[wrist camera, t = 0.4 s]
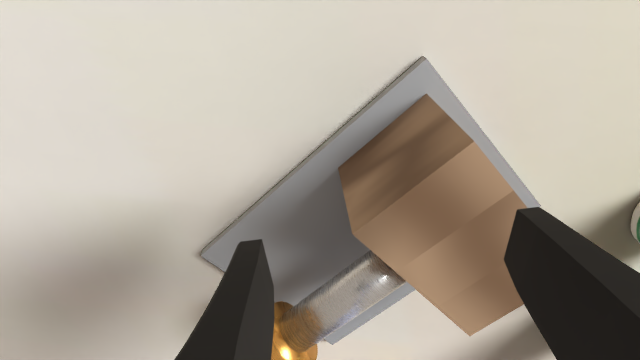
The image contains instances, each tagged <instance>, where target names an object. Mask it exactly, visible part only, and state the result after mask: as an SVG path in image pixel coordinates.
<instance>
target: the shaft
mask: <svg viewBox="0 0 640 360" xmlns="http://www.w3.org/2000/svg"><path fill="white" fill-rule="evenodd" d="M405 283H407V281H406V280H404V279H403V278H402V277H401V276H400V275H399V274H398V273H396V272H395V271H394V270H393V269H392V268H391V267H389V266H388V265H387V264H386V263H385V262H384V261H383V260H381V259H380V258H379V257H378V256H377V255H376V254H375V253H373V252H372V251H371V250H370V251H368V252H367V253H366V254H364V255H363V256H361V257H360V258H359V259H357V260H356V261H355V262H353V263H352V264H351V265H349V266H348V267H346V268H345V269H344V270H342V271H341V272H340V273H338V274H337V275H336V276H334V277H333V278H332V279H330V280H329V281H327V282H326V283H325V284H323V285H322V286H321V287H319V288H318V289H317V290H315V291H314V292H312V293H311V294H310V295H308V296H307V297H306V298H304V299H303V300H302V301H300V302H299V303H297V304H296V305H295V306H293V305H291V304H289V303H287V302H283V301H279V302H276V303H274V332H273V344H272V355H271V360H316V358H317V352H318V351H317V343H318V342H320V341H321V340H323V339H324V338H326V337H327V336H329V335H330V334H332V333H333V332H334V331H336V330H337V329H339V328H340V327H342V326H343V325H345V324H346V323H348V322H349V321H351V320H352V319H354V318H355V317H357V316H358V315H360V314H361V313H362V312H364V311H365V310H367V309H368V308H370V307H371V306H373V305H374V304H376V303H377V302H379V301H380V300H382V299H383V298H385V297H386V296H388V295H389V294H390V293H392V292H393V291H395V290H396V289H398V288H399V287H401V286H402V285H404V284H405Z"/></svg>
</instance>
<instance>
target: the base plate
mask: <svg viewBox="0 0 640 360" xmlns="http://www.w3.org/2000/svg"><path fill="white" fill-rule="evenodd" d="M426 93H427V94H428V95H429V96H430V97H431V98H432V99H433V100H434V101H435V102H436V103H437V104H438V105H439V106H440V107H441V108H442V109H443V110H444V111H445V112H446V113H447V114H448V115H449V116H450V117H451V118H452V119H453V120H454V121H455V122H456V123H457V124H458V125H459V126H460V127H461V128H462V129H463V130H464V131H465V132H466V133H467V134H468V135H469V136H470V137H471V138H472V140H473V141H474V142H475V143H476V144H477V145H478V147H479V148H480V149H481V150H482V152H483V153H484V154H485V155H486V157H487V158H488V159H489V160H490V162H491V163H492V164H493V165H494V166H495V168H496V169H497V170H498V171H499V173H500V174H501V175H502V176H503V178H504V179H505V180H506V181H507V183H508V184H509V185H510V186H511V188H512V189H513V190H514V191H515V193H516V194H517V195H518V196H519V198H520V199H521V200H522V201H523V203H524V204H525V205H526V206H527V208H533V207H540V206H541V205H540V204H539V203H538V201H537V200H536V199H535V198H534V196H533V195H532V194H531V192H530V191H529V190H528V189H527V187H526V186H525V185H524V183H523V182H522V181H521V180H520V178H519V177H518V176H517V174H516V173H515V172H514V171H513V169H512V168H511V167H510V165H509V164H508V163H507V162H506V160H505V159H504V158H503V156H502V155H501V154H500V153H499V151H498V150H497V149H496V147H495V146H494V145H493V144H492V142H491V141H490V140H489V138H488V137H487V136H486V135H485V133H484V132H483V131H482V129H481V128H480V127H479V125H478V124H477V123H476V122H475V120H474V119H473V118H472V116H471V115H470V114H469V113H468V111H467V110H466V109H465V107H464V106H463V105H462V104H461V102H460V101H459V100H458V98H457V97H456V96H455V95H454V93H453V92H452V91H451V89H450V88H449V87H448V86H447V84H446V83H445V82H444V80H443V79H442V78H441V77H440V75H439V74H438V73H437V71H436V70H435V69H434V68H433V66H432V65H431V64H430V62H429V61H428V60H427V59H426V58H425V57H424V56H422V57H421V58H420V59H419V60H418V61H417V62H416V63H415V64H413V65H412V66H411V67H410V68H409V69H408V70H407V71H405V72H404V73H403V74H402V75H401V76H400V77H399V78H397V79H396V80H395V81H394V82H393V83H392V84H391V85H389V86H388V87H387V88H386V89H385V90H384V91H383V92H382V93H380V94H379V95H378V96H377V97H376V98H375V99H374V100H372V101H371V102H370V103H369V104H368V105H367V106H366V107H364V108H363V109H362V110H361V111H360V112H359V113H358V114H356V115H355V116H354V117H353V118H352V119H351V120H350V121H348V122H347V123H346V124H345V125H344V126H343V127H342V128H341V129H339V130H338V131H337V132H336V133H335V134H334V135H333V136H331V137H330V138H329V139H328V140H327V141H326V142H325V143H323V144H322V145H321V146H320V147H319V148H318V149H317V150H315V151H314V152H313V153H312V154H311V155H310V156H309V157H308V158H306V159H305V160H304V161H303V162H302V163H301V164H300V165H298V166H297V167H296V168H295V169H294V170H293V171H292V172H290V173H289V174H288V175H287V176H286V177H285V178H284V179H282V180H281V181H280V182H279V183H278V184H277V185H276V186H274V187H273V188H272V189H271V190H270V191H269V192H268V193H267V194H265V195H264V196H263V197H262V198H261V199H260V200H259V201H257V202H256V203H255V204H254V205H253V206H252V207H251V208H249V209H248V210H247V211H246V212H245V213H244V214H243V215H241V216H240V217H239V218H238V219H237V220H236V221H235V222H234V223H232V224H231V225H230V226H229V227H228V228H227V229H226V230H224V231H223V232H222V233H221V234H220V235H219V236H218V237H216V238H215V239H214V240H213V241H212V242H211V243H210V244H208V245H207V246H206V247H205V248H204V249H203V250H202V253H201V256H202V257H203V258H204V259H206V260H207V261H209V262H210V263H212V264H213V265H215V266H216V267H218V268H219V269H221V270H222V271H224V272H226V270H227V267H228V265H229V263H230V261H231V259H232V256H233V254H234V252H235V249H236V247H237V245H238V244H239V243H240V242H241V241H249V240H258V239H262V241H263V245H264V249H265V253H266V257H267V261H268V265H269V269H270V273H271V277H272V281H273V285H274V303H276V302H279V301H283V302H287V303H289V304H291V305H293V306H295V305H296V304H297V303H299V302H300V301H302V300H303V299H304V298H306V297H307V296H308V295H310V294H311V293H312V292H314V291H315V290H317V289H318V288H319V287H321V286H322V285H323V284H325V283H326V282H327V281H329V280H330V279H332V278H333V277H334V276H336V275H337V274H338V273H340V272H341V271H342V270H344V269H345V268H346V267H348V266H349V265H351V264H352V263H353V262H355V261H356V260H357V259H359V258H360V257H361V256H363V255H364V254H366V253H367V252H368V251H370V249H369V248H368V247H366V246H365V245H364V244H363V243H362V242H361V241H360V240H358V239H357V238H356V237H355V236H354V235H353V234H352V230H351V225H350V221H349V216H348V212H347V207H346V202H345V198H344V193H343V189H342V184H341V180H340V175H339V170H338V167H339V166H341V165H342V164H343V163H344V162H345V161H347V160H348V159H349V158H350V157H351V156H353V155H354V154H355V153H356V152H357V151H358V150H360V149H361V148H362V147H363V146H364V145H366V144H367V143H368V142H369V141H370V140H372V139H373V138H374V137H375V136H376V135H377V134H379V133H380V132H381V131H382V130H383V129H385V128H386V127H387V126H388V125H389V124H391V123H392V122H393V121H394V120H395V119H396V118H398V117H399V116H400V115H401V114H402V113H404V112H405V111H406V110H407V109H408V108H410V107H411V106H412V105H413V104H414V103H416V102H417V101H418V100H419V99H420V98H421V97H423V96H424V95H425V94H426ZM414 290H415V288H414V287H413V286H411V285H410V284H409V283H408V282H407V283H405V284H404V285H402V286H401V287H399V288H398V289H396V290H395V291H393V292H392V293H390V294H389V295H388V296H386V297H385V298H383V299H382V300H380V301H379V302H377V303H376V304H374V305H373V306H371V307H370V308H368V309H367V310H365V311H364V312H362V313H361V314H360V315H358V316H357V317H355V318H354V319H352V320H351V321H349V322H348V323H346V324H345V325H343V326H342V327H340V328H339V329H337V330H336V331H334V332H333V333H332V334H330V335H329V336H327V337H326V338H324V340H326V341H327V342H329V343H330V344H332V345H333V344H334V343H336V342H337V341H339V340H340V339H342V338H343V337H345V336H346V335H348V334H349V333H351V332H352V331H354V330H355V329H357V328H358V327H360V326H361V325H363V324H364V323H366V322H367V321H369V320H370V319H372V318H373V317H375V316H376V315H378V314H379V313H381V312H382V311H384V310H385V309H387V308H388V307H390V306H391V305H393V304H394V303H396V302H397V301H399V300H400V299H402V298H403V297H405V296H406V295H408V294H409V293H411V292H412V291H414Z"/></svg>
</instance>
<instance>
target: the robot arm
mask: <svg viewBox="0 0 640 360" xmlns="http://www.w3.org/2000/svg"><path fill="white" fill-rule="evenodd" d="M504 262H505V264H506V267H507V269H508V272H509V274H510V277H511V279H512V281H513V283H514V286H515V288H516V290H517V292H518V294H519V296H520V298H521V299H522V301H523V303H524V305H525V306H526V308H527V310H528V312H529V313H530V315H531V317H532V318H533V320H534V322H535V323H536V325H537V327H538V329H539V330H540V332H541V334H542V335H543V337H544V339H545V340H546V342H547V344H548V345H549V347H550V349H551V351H552V352H553V354H554V356H555V357H556V359H557V360H640V273H639V272H637V271H635V270H634V269H632V268H631V267H629V266H627V265H626V264H624V263H623V262H621V261H619V260H618V259H616V258H615V257H613V256H612V255H610V254H609V253H607V252H606V251H604V250H603V249H601V248H600V247H598V246H597V245H595V244H594V243H592V242H591V241H589V240H588V239H586V238H585V237H583V236H582V235H580V234H579V233H577V232H576V231H574V230H573V229H571V228H570V227H568V226H567V225H566V224H564V223H563V222H561V221H560V220H558V219H557V218H555V217H554V216H552V215H551V214H549V213H548V212H546V211H544V210H543V209H541V208H540V207H533V208H524V209H517V211H516V215H515V219H514V222H513V226H512V230H511V233H510V237H509V241H508V244H507V248H506V252H505V256H504ZM273 332H274V285H273V281H272V277H271V273H270V269H269V265H268V261H267V257H266V253H265V249H264V245H263V241H262V239H258V240H249V241H241V242H240V243H239V244H238V245H237V247H236V249H235V252H234V254H233V256H232V259H231V261H230V263H229V265H228V267H227V270H226V272H225V274H224V276H223V278H222V280H221V282H220V284H219V286H218V288H217V290H216V291H215V293H214V295H213V297H212V299H211V301H210V303H209V305H208V306H207V308H206V310H205V312H204V314H203V315H202V317H201V318H200V320H199V322H198V323H197V325H196V327H195V328H194V330H193V332H192V333H191V335H190V337H189V338H188V340H187V342H186V343H185V345H184V346H183V348H182V349H181V351H180V352H179V354H178V355H177V357H176V358H175V360H271V355H272V344H273Z"/></svg>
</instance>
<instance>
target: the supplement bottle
mask: <svg viewBox="0 0 640 360" xmlns="http://www.w3.org/2000/svg"><path fill="white" fill-rule="evenodd" d="M631 232H632V234H633V237H634V238H635V239H636V240H637V241H638V242H639V243H640V202H639V203H638V205H637V206H636V208H635V210H634V212H633V215H632V220H631Z"/></svg>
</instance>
